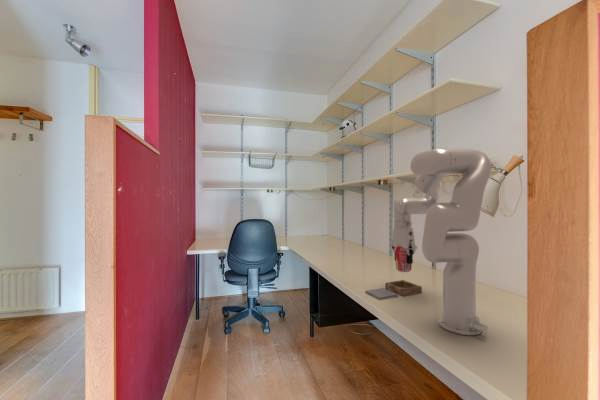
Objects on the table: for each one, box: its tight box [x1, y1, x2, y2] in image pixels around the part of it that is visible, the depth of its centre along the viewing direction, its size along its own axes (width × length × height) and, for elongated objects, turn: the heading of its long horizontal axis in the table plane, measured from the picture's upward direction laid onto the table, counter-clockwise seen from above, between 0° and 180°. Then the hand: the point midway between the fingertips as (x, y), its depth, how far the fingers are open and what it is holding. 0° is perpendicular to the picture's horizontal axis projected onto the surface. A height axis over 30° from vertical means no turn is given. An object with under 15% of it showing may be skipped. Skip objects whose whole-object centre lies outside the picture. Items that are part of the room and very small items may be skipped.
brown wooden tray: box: [384, 279, 423, 297], centre depth 128 cm, size 11×11×3 cm
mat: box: [365, 287, 399, 301], centre depth 123 cm, size 10×10×1 cm
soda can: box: [394, 246, 413, 273], centre depth 127 cm, size 7×7×12 cm
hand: (403, 261), depth 127 cm, fingers closed on soda can, 7 cm apart
